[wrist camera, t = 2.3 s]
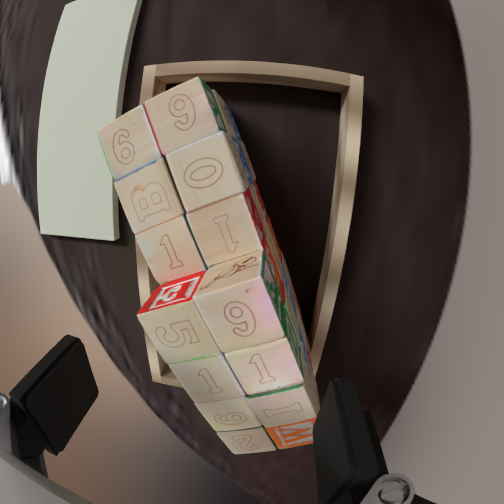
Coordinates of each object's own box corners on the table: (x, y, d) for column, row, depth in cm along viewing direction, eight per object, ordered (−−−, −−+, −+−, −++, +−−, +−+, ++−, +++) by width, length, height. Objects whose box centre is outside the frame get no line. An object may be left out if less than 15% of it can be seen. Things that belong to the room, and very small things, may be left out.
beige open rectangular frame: (156, 74, 19) (144, 66, 16) (354, 84, 18) (363, 76, 16) (160, 366, 28) (153, 381, 26) (305, 384, 27) (307, 400, 25)
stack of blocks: (159, 136, 21) (58, 125, 9) (230, 106, 19) (183, 49, 8) (247, 352, 27) (233, 457, 15) (309, 336, 26) (326, 444, 14)
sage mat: (70, 7, 15) (65, 4, 14) (147, -18, 15) (144, -22, 14) (46, 231, 24) (40, 233, 23) (119, 237, 23) (114, 240, 22)
